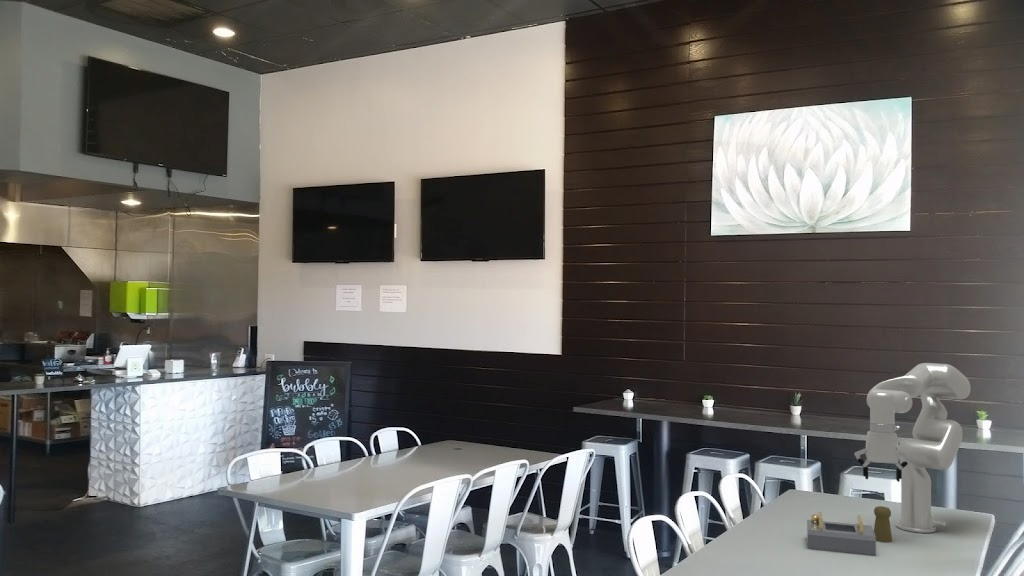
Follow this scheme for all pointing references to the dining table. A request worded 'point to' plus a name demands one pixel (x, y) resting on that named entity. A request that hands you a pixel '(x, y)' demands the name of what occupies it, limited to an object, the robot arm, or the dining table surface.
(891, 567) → the dining table surface
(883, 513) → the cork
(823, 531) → the grey slotted box
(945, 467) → the robot arm
